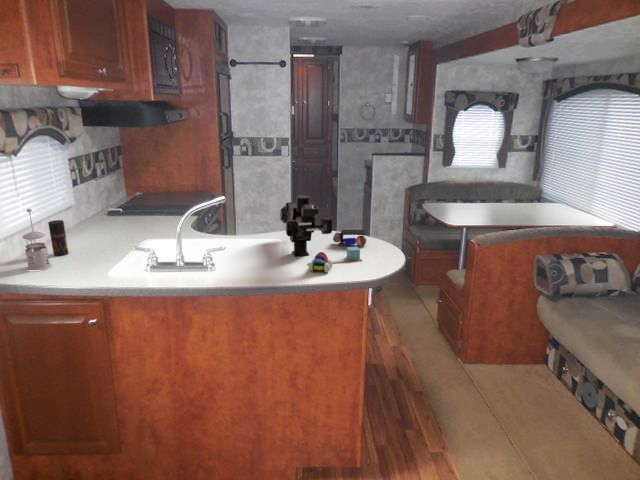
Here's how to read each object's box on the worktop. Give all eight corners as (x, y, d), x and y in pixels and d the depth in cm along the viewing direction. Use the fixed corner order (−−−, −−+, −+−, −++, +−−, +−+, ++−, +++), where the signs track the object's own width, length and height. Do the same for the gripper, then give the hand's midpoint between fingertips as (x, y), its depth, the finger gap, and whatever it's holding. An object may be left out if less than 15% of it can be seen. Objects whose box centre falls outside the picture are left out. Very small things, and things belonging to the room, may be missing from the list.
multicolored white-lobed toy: (333, 267, 206) (333, 250, 204) (327, 275, 197) (327, 257, 195) (314, 265, 208) (313, 248, 206) (307, 273, 199) (307, 255, 197)
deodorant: (68, 255, 222) (63, 222, 218) (53, 257, 219) (48, 224, 215) (68, 251, 227) (63, 219, 223) (53, 253, 224) (48, 221, 220)
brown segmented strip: (307, 264, 209) (307, 263, 209) (360, 259, 214) (360, 258, 214) (308, 265, 207) (308, 264, 207) (362, 260, 212) (362, 260, 212)
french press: (31, 273, 200) (20, 212, 193) (20, 267, 207) (9, 208, 200) (56, 267, 207) (46, 208, 200) (45, 261, 214) (35, 204, 207)
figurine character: (333, 249, 233) (366, 247, 230) (331, 234, 230) (364, 231, 228) (335, 245, 239) (367, 243, 236) (333, 230, 237) (365, 227, 234)
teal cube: (346, 257, 218) (346, 247, 216) (356, 256, 219) (356, 246, 217) (349, 260, 213) (349, 250, 212) (359, 259, 214) (359, 249, 213)
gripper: (282, 204, 203) (290, 214, 189) (326, 202, 208) (337, 211, 194) (283, 230, 207) (290, 242, 192) (326, 227, 211) (337, 239, 197)
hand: (314, 233), depth 194 cm, fingers open, 9 cm apart
